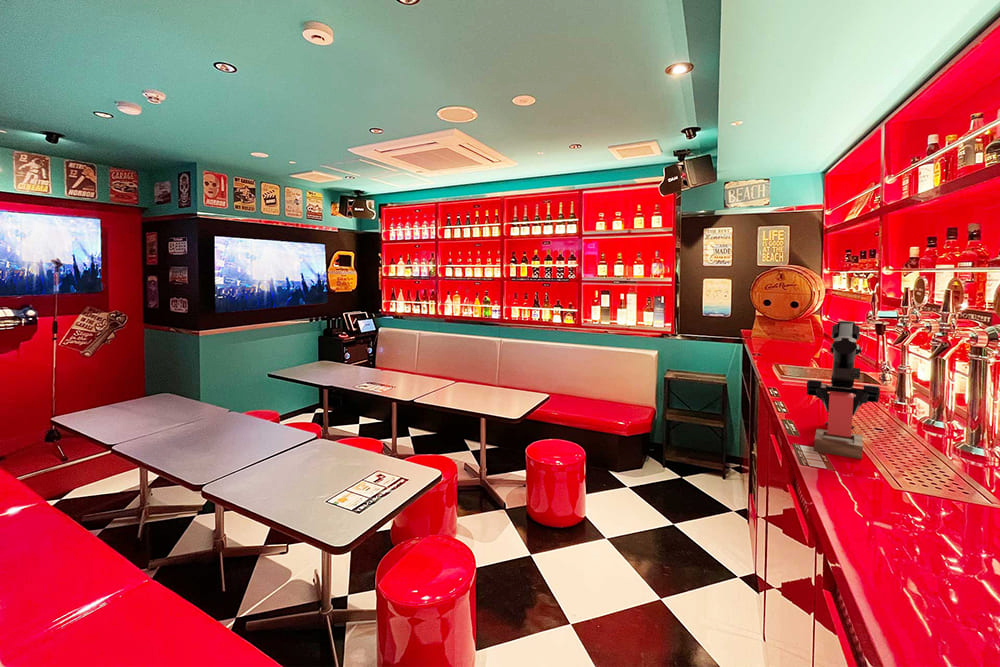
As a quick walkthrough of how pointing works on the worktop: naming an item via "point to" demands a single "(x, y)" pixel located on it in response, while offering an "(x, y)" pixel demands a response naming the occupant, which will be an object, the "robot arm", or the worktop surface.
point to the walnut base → (838, 444)
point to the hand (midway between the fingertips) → (840, 413)
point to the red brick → (840, 413)
